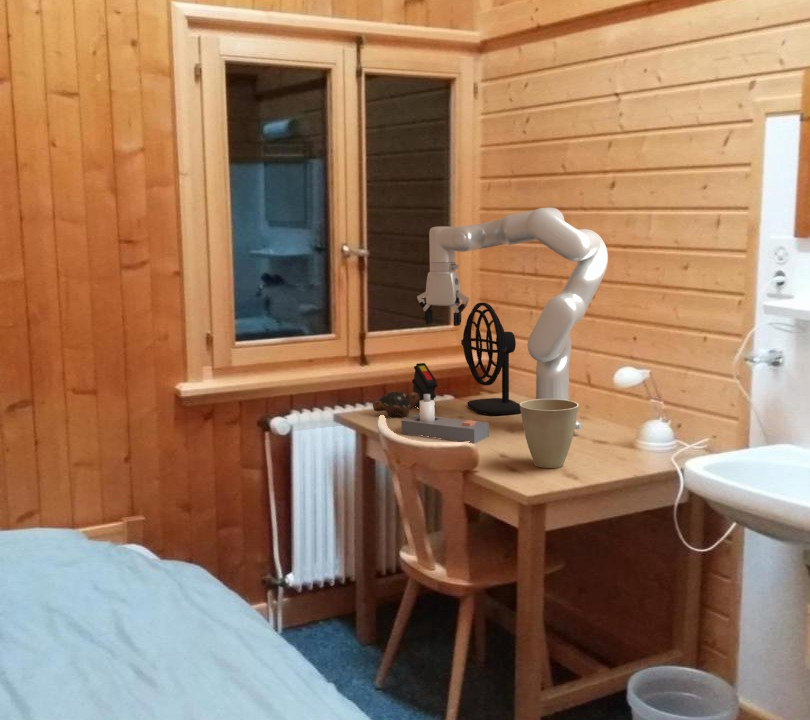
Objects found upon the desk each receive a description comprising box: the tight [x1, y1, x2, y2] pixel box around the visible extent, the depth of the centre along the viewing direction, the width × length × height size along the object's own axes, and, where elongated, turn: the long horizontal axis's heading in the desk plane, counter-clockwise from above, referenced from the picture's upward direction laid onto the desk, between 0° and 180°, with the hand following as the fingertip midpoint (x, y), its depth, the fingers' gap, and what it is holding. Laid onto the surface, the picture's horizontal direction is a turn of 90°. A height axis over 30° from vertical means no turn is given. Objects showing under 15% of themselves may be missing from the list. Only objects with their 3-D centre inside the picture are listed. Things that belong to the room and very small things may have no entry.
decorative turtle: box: [372, 391, 420, 418], centre depth 310 cm, size 10×15×8 cm, turn 87°
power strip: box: [401, 413, 490, 444], centre depth 285 cm, size 24×9×5 cm, turn 59°
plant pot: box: [519, 398, 579, 469], centre depth 251 cm, size 15×15×16 cm
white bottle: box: [419, 394, 436, 423], centre depth 287 cm, size 4×4×11 cm
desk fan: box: [460, 301, 521, 416], centre depth 315 cm, size 27×18×35 cm, turn 17°
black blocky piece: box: [411, 362, 438, 410], centre depth 318 cm, size 4×13×15 cm, turn 22°
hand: (443, 324), depth 296 cm, fingers open, 9 cm apart
